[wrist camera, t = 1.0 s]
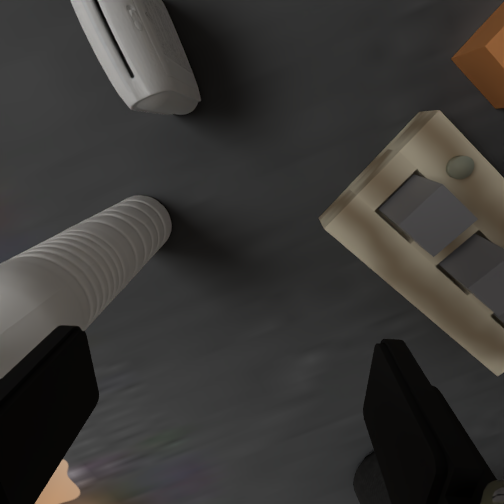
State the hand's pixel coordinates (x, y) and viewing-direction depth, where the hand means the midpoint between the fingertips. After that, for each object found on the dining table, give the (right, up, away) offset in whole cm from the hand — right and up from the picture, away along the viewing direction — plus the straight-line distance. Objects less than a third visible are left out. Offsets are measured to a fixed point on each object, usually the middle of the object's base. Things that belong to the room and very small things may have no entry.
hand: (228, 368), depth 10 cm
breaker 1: (+16, +8, +21) cm, 28 cm away
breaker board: (+23, +4, +26) cm, 35 cm away
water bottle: (-11, +6, +27) cm, 30 cm away
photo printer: (-7, +22, +20) cm, 31 cm away
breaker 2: (+23, +3, +22) cm, 32 cm away
